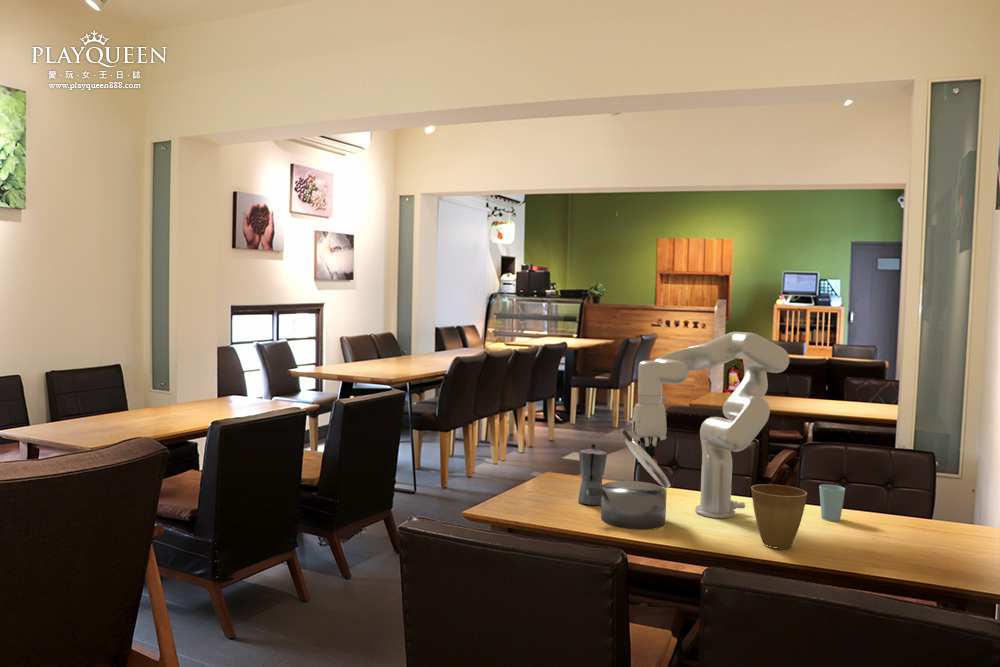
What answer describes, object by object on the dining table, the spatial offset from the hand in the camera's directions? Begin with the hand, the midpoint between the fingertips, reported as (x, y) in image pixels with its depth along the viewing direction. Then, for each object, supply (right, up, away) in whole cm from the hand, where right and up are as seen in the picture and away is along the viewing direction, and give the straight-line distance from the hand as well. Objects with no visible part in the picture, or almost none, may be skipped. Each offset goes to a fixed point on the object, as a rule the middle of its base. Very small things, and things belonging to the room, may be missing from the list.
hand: (649, 458), depth 229 cm
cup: (+61, -21, +7) cm, 65 cm away
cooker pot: (-8, -19, 0) cm, 21 cm away
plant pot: (+32, -22, -21) cm, 44 cm away
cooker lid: (-2, 0, 0) cm, 2 cm away
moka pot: (-16, -19, +19) cm, 31 cm away
